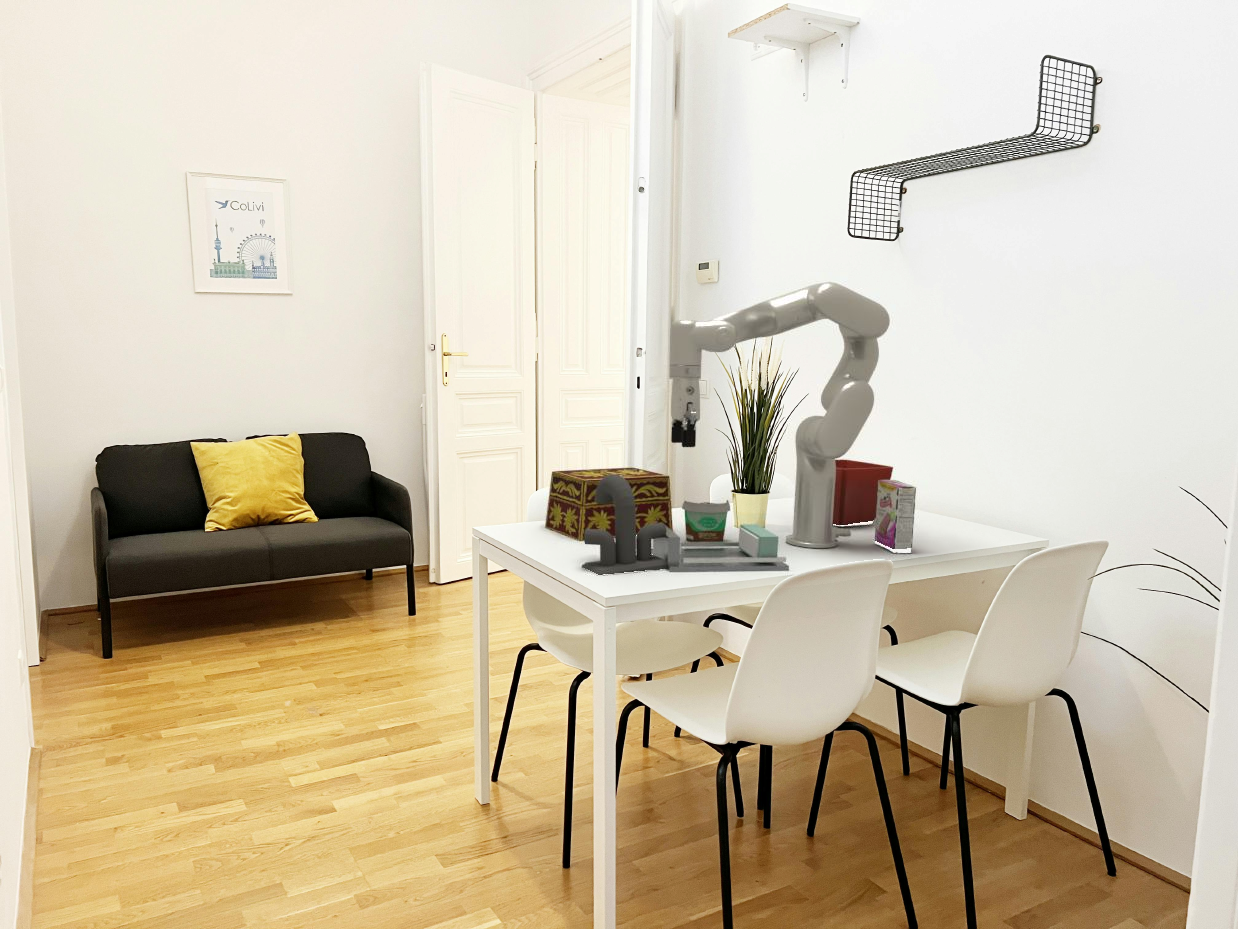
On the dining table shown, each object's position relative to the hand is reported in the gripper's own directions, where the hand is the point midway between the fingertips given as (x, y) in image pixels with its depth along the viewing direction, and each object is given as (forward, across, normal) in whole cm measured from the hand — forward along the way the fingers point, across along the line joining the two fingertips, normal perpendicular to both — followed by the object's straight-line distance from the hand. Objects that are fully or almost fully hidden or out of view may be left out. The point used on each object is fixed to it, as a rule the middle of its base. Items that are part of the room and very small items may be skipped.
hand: (683, 444), depth 220 cm
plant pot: (+25, +26, -54) cm, 64 cm away
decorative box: (+24, +17, +14) cm, 33 cm away
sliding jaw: (+23, -19, -12) cm, 32 cm away
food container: (+24, +1, -7) cm, 26 cm away
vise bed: (+24, -19, -4) cm, 31 cm away
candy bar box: (+25, -8, -51) cm, 58 cm away
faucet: (+24, -20, +19) cm, 37 cm away
